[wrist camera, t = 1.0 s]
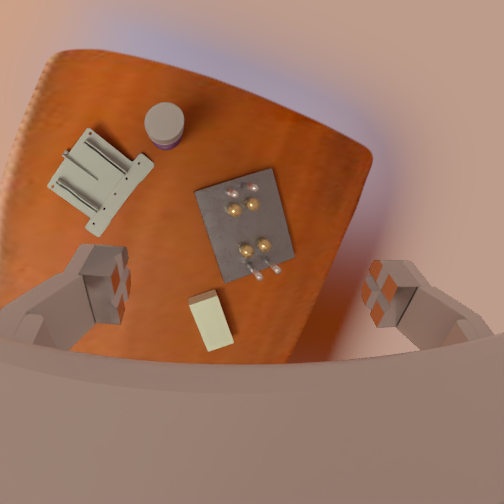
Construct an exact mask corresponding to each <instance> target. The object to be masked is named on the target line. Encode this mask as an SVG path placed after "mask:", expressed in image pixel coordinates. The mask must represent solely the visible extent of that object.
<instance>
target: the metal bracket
mask: <svg viewBox="0 0 504 504" xmlns="http://www.w3.org/2000/svg"><path fill="white" fill-rule="evenodd" d="M89 132H92V135H89ZM62 156H63V157H64V158H65V159H64V161H63V162H62V164H61V165H60V167H59V168H58V170H57V171H56V173H55V174H54V176H53V177H52V179H51V180H50V182H49V183H48V185H47V186H48V188H50V189H51V190H52V191H54V192H55V193H56V194H58V195H59V196H61V197H62V198H63V199H65V200H66V201H67V202H69V203H70V204H72V205H73V206H74V207H76V208H77V209H79V210H80V211H82V212H83V213H84V214H86V215H87V216H89V217H90V220H89V222H88V223H87V225H86V226H85V228H86V229H87V230H88V231H89V232H91V233H92V234H94V235H95V236H97V237H100V236H101V235H102V233H103V232H104V230H105V229H106V228H107V226H108V225H109V223H110V222H111V219H112V218H113V217H114V215H115V214H116V213H117V211H118V210H119V209H120V207H121V206H122V204H123V203H124V202H125V201H126V199H127V198H128V197H129V195H130V194H131V193H132V191H133V190H134V189H135V188H136V186H137V185H138V184H139V183H140V182H141V181H142V180H143V179H144V178H145V177H146V176H147V174H148V173H149V172H150V171H151V170H152V168H153V167H154V163H153V162H152V161H151V160H149V159H148V158H147V157H146V156H144V155H143V154H142V153H140V154H139V155H138V156H137V157H136V159H135V160H134V161H130V160H129V159H128V158H126V157H125V156H124V155H123V154H121V153H120V152H119V151H118V150H116V149H115V148H114V147H113V146H111V145H110V144H109V143H108V142H106V141H105V140H104V139H103V138H101V137H100V136H99V135H98V134H96V133H95V132H94V131H93V130H91V129H90V128H88V129H87V130H86V131H85V132H84V133H83V135H82V136H81V137H80V139H79V140H78V141H77V143H76V144H75V145H74V147H73V148H72V149H71V151H70V152H69V151H67V150H65V152H64V153H63V154H62ZM138 162H139V163H140V164H139V165H138ZM126 178H128V179H127V180H126ZM52 185H54V188H52V187H51V186H52ZM114 193H116V195H114ZM103 208H105V210H103ZM93 223H95V224H94V225H93Z"/></svg>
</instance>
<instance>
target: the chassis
mask: <svg viewBox="0 0 504 504" xmlns="http://www.w3.org/2000/svg"><path fill="white" fill-rule="evenodd" d="M194 194H195V197H196V200H197V203H198V206H199V209H200V212H201V215H202V218H203V221H204V225H205V228H206V231H207V234H208V237H209V240H210V243H211V246H212V249H213V252H214V254H215V257H216V260H217V263H218V266H219V269H220V272H221V275H222V278H223V281H224V283H227V282H230V281H233V280H236V279H238V278H241V277H244V276H247V275H249V274H252V273H253V275H254V276H255V277H256V278H257V280H259V281H261V280H262V279H263V275H262V274H261V273H260V272H259V271H260V270H263V269H265V268H268V267H270V268H271V269H272V270H273V271H274V272H275V273H277V274H279V273H281V268H280V267H279V266H278V265H276V264H279V263H282V262H284V261H287V260H290V259H292V258H295V256H294V251H293V247H292V243H291V239H290V235H289V231H288V227H287V223H286V219H285V215H284V212H283V208H282V204H281V200H280V196H279V192H278V189H277V185H276V181H275V178H274V174H273V170H272V168H268V169H264V170H261V171H257V172H254V173H251V174H247V175H244V176H241V177H238V178H234V179H231V180H228V181H225V182H222V183H219V184H215V185H212V186H209V187H206V188H203V189H200V190H197V191H194Z"/></svg>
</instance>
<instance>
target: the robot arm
mask: <svg viewBox="0 0 504 504" xmlns="http://www.w3.org/2000/svg"><path fill="white" fill-rule="evenodd" d="M127 261H128V252H127V248H126V247H123V246H109V245H95V244H81V245H80V246H79V247H78V249H77V251H76V252H75V254H74V255H73V257H72V259H71V260H70V262H69V263H68V265H67V267H66V268H65V270H64V272H63V273H58V274H56V275H54V276H53V277H51V278H49V279H48V280H46V281H44V282H43V283H41V284H39V285H38V286H36V287H34V288H33V289H31V290H29V291H28V292H26V293H25V294H23V295H21V296H20V297H18V298H17V299H15V300H13V301H12V302H10V303H9V304H7V305H6V306H4V307H3V308H2V310H1V311H0V504H504V333H501V334H497V335H494V334H493V333H492V331H491V330H490V328H489V327H488V325H487V324H486V323H485V321H484V320H483V319H482V317H481V316H480V315H478V314H477V313H475V312H474V311H472V310H470V309H469V308H467V307H466V306H464V305H462V304H461V303H459V302H458V301H456V300H455V299H453V298H452V297H450V296H449V295H447V294H445V293H444V292H442V291H440V290H439V289H437V288H436V287H431V285H430V284H429V283H428V281H427V280H426V279H425V278H424V276H423V275H422V274H421V273H420V271H419V270H418V269H417V268H416V266H415V265H414V264H413V263H412V262H411V261H408V260H374V261H373V263H372V264H371V266H370V269H369V271H370V274H371V275H370V276H369V277H368V278H367V279H365V281H364V284H363V287H362V299H363V302H364V303H365V306H367V307H368V308H370V309H371V313H370V315H371V317H372V319H373V321H374V323H375V325H376V327H377V328H381V327H396V328H397V329H398V330H399V331H401V333H403V334H404V335H405V336H406V337H407V338H408V339H409V340H410V341H411V342H412V343H413V344H414V345H416V346H417V347H418V348H419V349H420V351H415V352H408V353H401V354H394V355H387V356H378V357H370V358H361V359H350V360H339V361H327V362H311V363H293V364H246V365H236V364H193V363H173V362H158V361H146V360H135V359H126V358H117V357H109V356H101V355H94V354H87V353H80V352H74V351H68V350H69V349H70V348H71V347H72V346H73V345H74V344H76V343H77V342H78V341H79V340H80V339H81V338H82V337H83V336H84V335H85V334H86V333H87V332H88V331H89V330H90V329H91V328H92V327H93V326H94V325H95V323H105V324H118V325H121V322H122V319H123V315H124V312H125V306H124V302H125V301H127V300H128V298H129V294H130V287H131V275H130V270H129V269H128V268H127V267H126V264H127Z"/></svg>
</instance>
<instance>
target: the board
mask: <svg viewBox="0 0 504 504" xmlns="http://www.w3.org/2000/svg"><path fill="white" fill-rule="evenodd" d="M188 302H189V306H190V309H191V311H192V314H193V316H194V319H195V321H196V324H197V326H198V329H199V331H200V334H201V336H202V338H203V341H204V343H205V346H206V348H207V350H208V352H209V351H212V350H215V349H218V348H221V347H224V346H227V345H230V344H232V343H234V341H233V338H232V335H231V333H230V330H229V327H228V324H227V321H226V319H225V316H224V313H223V310H222V307H221V304H220V302H219V299H218V296H217V293H216V291H215V289H214V290H211V291H208V292H205V293H202V294H199V295H197V296H194V297H191V298H188Z"/></svg>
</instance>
